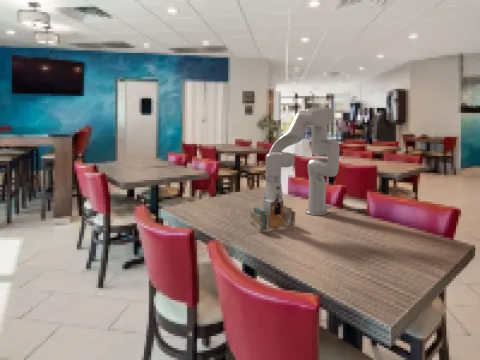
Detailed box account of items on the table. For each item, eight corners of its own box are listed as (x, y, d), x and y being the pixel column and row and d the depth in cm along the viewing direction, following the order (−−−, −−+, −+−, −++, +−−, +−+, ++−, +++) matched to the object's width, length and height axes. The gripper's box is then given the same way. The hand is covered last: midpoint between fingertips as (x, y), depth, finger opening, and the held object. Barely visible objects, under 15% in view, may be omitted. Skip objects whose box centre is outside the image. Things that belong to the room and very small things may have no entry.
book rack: (284, 222, 200) (285, 203, 198) (294, 227, 191) (295, 207, 189) (250, 227, 192) (250, 207, 191) (259, 232, 183) (259, 212, 181)
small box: (270, 227, 187) (270, 202, 185) (262, 224, 192) (263, 199, 190) (283, 225, 191) (283, 200, 189) (275, 222, 196) (276, 197, 194)
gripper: (288, 180, 181) (288, 215, 184) (271, 175, 197) (271, 207, 200) (275, 181, 178) (274, 217, 181) (258, 176, 194) (258, 209, 197)
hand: (272, 212), depth 190 cm, fingers open, 9 cm apart
